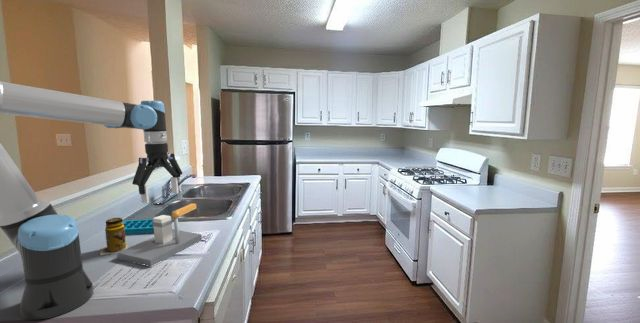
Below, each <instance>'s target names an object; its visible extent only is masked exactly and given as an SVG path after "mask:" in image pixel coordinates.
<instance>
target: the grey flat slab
mask: <svg viewBox="0 0 640 323" xmlns="http://www.w3.org/2000/svg"><path fill="white" fill-rule="evenodd" d="M172 237H173V240H172V241H169V242H167V243H165V244H158V243H155V238H154V236H152V237H150V238H148V239H145V240H142V241H141V242H138V243H136V244H134V245H132V246H130V247H127V249H125V250H122V251H120V252H117V260H118V261H123V260H124V261H123V262H127V261H129V262H128V263H131V262H135V263H134V264H136V263H140V264H145V265H148V266H152V265H154V264H156V263H158V262H160V261H162V262H164V261H165V259H166V260H168V259H170V258H171V257H173V256H174V255H176V253H177V254H178V252H179V253H180V252H182V251H184V250H186V249H187V248H189V247H192V246H193V245H195V244H197V243H200V242H201V241H202V240H203V238H202V233H201V234H200V233H195V232H190V231H186V230H180V229H179V243H175V229H173V228H172ZM163 260H164V261H163ZM160 263H161V262H160ZM140 264H139V265H140ZM158 264H159V263H158ZM156 265H157V264H156ZM148 266H147V267H148ZM154 266H155V265H154Z"/></svg>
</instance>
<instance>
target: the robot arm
mask: <svg viewBox="0 0 640 323" xmlns="http://www.w3.org/2000/svg"><path fill="white" fill-rule="evenodd" d="M0 114H1V115H8V116H9V115H10V116H19V117H27V118H28V117H29V118H37V119H46V120H56V121H65V122H72V123H73V122H74V123H83V124H84V123H85V124H91V125H100V126H104V127H105V128H108V129H135V130H142V131H143V140H144V141H143V142H144V143H145V144H144V149H145V150H144V152H145V154H146V157H138V166H137V168H136V171H135V174H134V177H133V180H132V182H131V183H132V185H133V186H138V194H139V195H140V199H141V203H143V204H148V203H150V199H149V198H150V197H149V188H148V184H147V181H148V180H149V179H150V177H151V175H152V173H153V172H154V170H156V169H157V168H162V167H163V168H164V169H165V170H166V171H167V173H169V174H170V175H171V176H170V184H171V186H170V187H171V193H172V194H179V183H180V182H179V178H181V175H183V171H182V169H181V167H180V165H179V164H178V161H177V159H176V157H175V153H172V152H171V153H170V152H169V146H168V145H169V144H168V136H167V124H166V122H167V121H166V120H167V119H166V110H165V104H164V102H163V101H161V100H141V101H140V104H136V103H135V104H134V103H131V102H130V103H129V102H122V101H117V100H112V99H105V98H101V97H93V96H88V95H83V94H76V93H71V92H67V91H66V92H65V91H60V90H59V91H58V90H53V89H47V88H42V87H35V86H29V85H24V84H23V85H22V84H18V83H11V82H6V81H1V80H0ZM168 152H169V153H168ZM0 229H1V230H2V231H3V233H4V234H5V235H6V236H7V238H8V239H9V241H10V242H11V244H12V245H13V246H14V247H15V248H16V250H17V252H18V254H19V255H20V257H21V260H22V261H21V262H22V268H23V274H24V279H25V280H24V281H25V286H24V291H23V293H22V296H21V300H20V303H19V311H20V316H21V318H23V319H25V320H28V321H29V320H30V321H34V320H35V321H36V320H37V321H39V320H46V319H50V318H54V317H57V316H60V315H63V314H66V313H68V312H71V311H74V310H75V309H77V308H79V307H81V306H82V305H84V304H86V303H87V302H88V301H89V300H90V299H91V298H92V297H93V295H94V286H93V283H92V281H91V279H90V278H89V276H88V274H87V273H86V271H85V270H84V268H83V259H82V258H83V257H82V250H81V243H80V234H79V233H80V228H79V225H78V222H77V220H76V219H75V218H74V217H73V216H70V215H66V214H63V215H62V214H59V213H58V212H57V211H56V209H55V208H54V207H53V205H52V203H51V202H50V201H49V200H44V199H41V198H39V196H38V195H37V194H36V192H35V191H34V189H33V188H32V186H31V185H30V184H29V182H28V181H27V179H26V178H25V176H24V175H23V173H22V172H21V170H20V169H19V167H18V166H17V165H16V164H15V161H14V160H13V159H12V157H11V156H10V155H9V152H7V151H6V149H5V148H4V146H3V144H2V143H1V142H0Z"/></svg>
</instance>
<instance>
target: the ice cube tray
mask: <svg viewBox="0 0 640 323" xmlns="http://www.w3.org/2000/svg"><path fill="white" fill-rule="evenodd" d="M122 221H123V220H122ZM152 222H153V218H149V219H133V220H132V219H131V220H129V219H128V220H124V221H123V225H124V229H125V235H134V234H135V235H137V234H151V233H152V234H154V226H153V224H152Z"/></svg>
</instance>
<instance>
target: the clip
mask: <svg viewBox="0 0 640 323" xmlns="http://www.w3.org/2000/svg"><path fill="white" fill-rule="evenodd" d="M196 209H197V203H189V204H187V205H185V206H182V207H180V208H178V209H176V210H172V211H171V219H172V218H173V227H174V230H175V243H179V230H180V229H179V217H181V216H184V215H185V214H188V213H189V212H192V211H194V210H196Z"/></svg>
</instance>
